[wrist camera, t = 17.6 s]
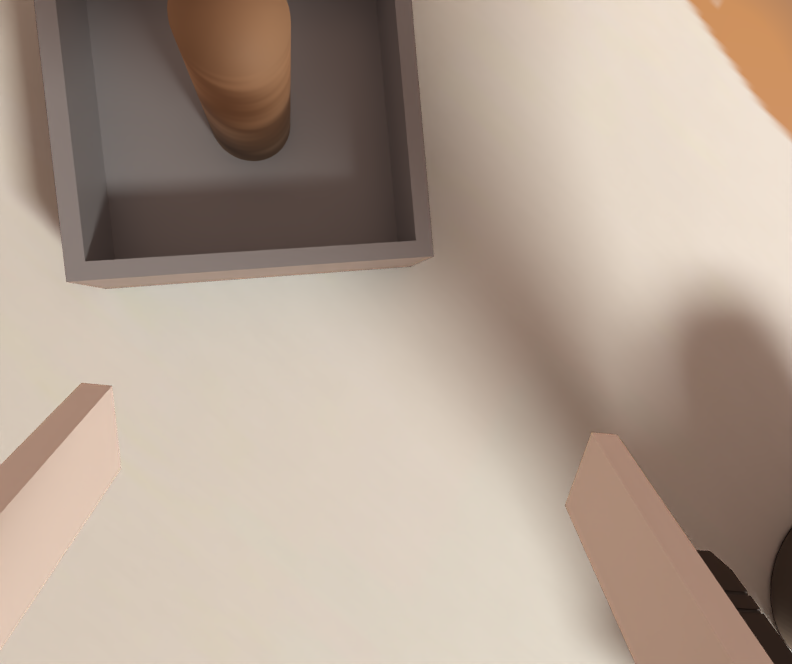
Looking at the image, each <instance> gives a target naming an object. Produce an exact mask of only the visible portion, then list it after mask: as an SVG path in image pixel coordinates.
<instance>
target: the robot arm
mask: <svg viewBox="0 0 792 664" xmlns="http://www.w3.org/2000/svg"><path fill="white" fill-rule="evenodd" d="M120 470H121V462H120V453H119V444H118V435H117V426H116V417H115V408H114V399H113V390H112V386H108V385H98V384H88V383H81V384H80V385H79V386H78V387H77V388H76V389H75V390H74V391H73V392H72V393H71V394H70V395H69V396H68V397H67V398H66V399H65V400H64V401H63V402H62V403H61V404H60V405H59V406H58V407H57V408H56V409H55V410H54V411H53V412H52V413H51V414H50V415H49V416H48V417H47V418H46V419H45V420H44V422H43V423H42V424H41V425H40V426H39V427H38V428H37V429H36V430H35V431H34V432H33V433H32V434H31V435H30V436H29V437H28V438H27V439H26V440H25V441H24V442H23V443H22V444H21V445H20V446H19V447H18V448H17V449H16V450H15V451H14V452H13V453H12V454H11V455H10V456H9V457H8V458H7V459H6V460H5V461H4V462H3V463H2V464H1V465H0V650H1V649H2V647H3V646H4V644H5V643H6V641H7V640H8V638H9V637H10V635H11V634H12V632H13V631H14V629H15V628H16V626H17V625H18V623H19V622H20V620H21V619H22V617H23V616H24V614H25V613H26V611H27V610H28V608H29V607H30V605H31V604H32V602H33V601H34V599H35V598H36V596H37V595H38V593H39V592H40V590H41V588H42V587H43V585H44V584H45V582H46V581H47V579H48V578H49V576H50V575H51V573H52V572H53V570H54V569H55V567H56V566H57V564H58V563H59V561H60V560H61V558H62V557H63V555H64V554H65V552H66V551H67V549H68V548H69V546H70V545H71V543H72V542H73V540H74V539H75V537H76V536H77V534H78V533H79V531H80V530H81V528H82V527H83V525H84V524H85V522H86V521H87V519H88V518H89V516H90V515H91V513H92V512H93V510H94V509H95V507H96V506H97V504H98V503H99V501H100V500H101V498H102V497H103V495H104V494H105V492H106V491H107V489H108V488H109V486H110V485H111V483H112V482H113V480H114V479H115V477H116V476H117V474H118V473H119V471H120ZM565 507H566V509H567V511H568V513H569V516H570V518H571V520H572V522H573V525H574V527H575V529H576V531H577V534H578V536H579V538H580V540H581V543H582V545H583V547H584V549H585V552H586V554H587V556H588V558H589V561H590V563H591V565H592V567H593V570H594V572H595V574H596V576H597V579H598V581H599V583H600V585H601V588H602V590H603V592H604V594H605V597H606V599H607V601H608V603H609V606H610V608H611V610H612V612H613V615H614V617H615V619H616V621H617V623H618V626H619V628H620V630H621V632H622V635H623V637H624V639H625V641H626V644H627V646H628V648H629V650H630V653H631V655H632V657H633V659H634V662H635V664H792V652H791V651H790V650H789V648H790V649H791V650H792V529H791V531H790V532H789V534H788V535H787V537H786V538H785V540H784V542H783V544H782V546H781V548H780V551H779V553H778V556H777V559H776V562H775V566H774V570H773V575H772V583H771V602H772V610H773V615H774V619H775V622H776V625H777V628H778V630H779V632H780V634H781V636H782V638H783V640H784V641H785V643H786V644H787V646H788V647H789V648H788V647H787V646H786V644H785V643H784V641H783V640H782V639H781V637H780V636H779V635H778V633H777V632H776V630H775V629H774V628H773V626H772V625H771V624H770V622H769V621H768V619H767V618H766V617H765V615H764V614H761V613H760V608H759V607H758V606H757V604H756V603H755V602H754V600H753V599H752V597H751V596H748V595H747V591H746V589H745V588H744V586H743V585H742V584H741V582H740V581H739V580H738V578H737V577H736V575H735V574H734V573H733V571H732V570H731V569H730V568H729V567H727V566H726V565H725V564H724V563H723V562H722V561H721V560H719V559H718V558H717V557H716V556H715V555H714V554H713V553H712V552H710V551H700V550H696V549H695V548H694V546H693V545H692V543H691V542H690V540H689V539H688V538H687V536H686V535H685V533H684V532H683V530H682V529H681V527H680V526H679V524H678V523H677V521H676V520H675V519H674V517H673V516H672V514H671V513H670V511H669V510H668V508H667V507H666V505H665V504H664V502H663V501H662V499H661V498H660V497H659V495H658V494H657V492H656V491H655V489H654V488H653V486H652V485H651V483H650V482H649V480H648V479H647V478H646V476H645V475H644V473H643V472H642V470H641V469H640V467H639V466H638V464H637V463H636V461H635V460H634V459H633V457H632V456H631V454H630V453H629V451H628V450H627V448H626V447H625V445H624V444H623V442H622V441H621V439H620V438H619V437H618V435H615V434H605V433H594V432H591V435H590V438H589V441H588V443H587V446H586V449H585V452H584V454H583V457H582V460H581V463H580V465H579V468H578V471H577V474H576V476H575V479H574V482H573V485H572V487H571V490H570V493H569V496H568V498H567V501H566V504H565Z"/></svg>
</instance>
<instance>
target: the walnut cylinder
mask: <svg viewBox="0 0 792 664" xmlns="http://www.w3.org/2000/svg"><path fill="white" fill-rule="evenodd" d="M167 13H168V20H169V25H170V28H171V30H172V33H173V36H174V38H175V41H176V43H177V45H178V48H179V50H180V53H181V55H182V58H183V60H184V63H185V65H186V68H187V70H188V73H189V75H190V78H191V80H192V83H193V85H194V87H195V90H196V92H197V95H198V97H199V100H200V102H201V105H202V107H203V110H204V112H205V115H206V117H207V120H208V122H209V124H210V127H211V129H212V132H213V134H214V136H215V138H216V140H217V142H218V143H219V144H220V146H221V147H222V148H223V149H224V150H225V151H227V152H228V153H229V154H231V155H233V156H234V157H237V158H239V159H242V160H247V161H260V160H265V159H268V158H270V157H272V156H274V155H275V154H276V153H278V152H279V151H280V150H281V149H282V148H283V146H284V145H285V143H286V141H287V139H288V136H289V132H290V87H291V17H290V11H289V6H288V3H287V0H168V2H167Z"/></svg>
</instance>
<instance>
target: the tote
mask: <svg viewBox="0 0 792 664" xmlns="http://www.w3.org/2000/svg"><path fill="white" fill-rule="evenodd" d="M167 2H168V0H34V5H35V14H36V23H37V32H38V40H39V49H40V58H41V66H42V75H43V84H44V92H45V101H46V110H47V118H48V127H49V136H50V144H51V153H52V162H53V171H54V179H55V188H56V197H57V205H58V214H59V223H60V231H61V240H62V249H63V257H64V266H65V275H66V282H70V283H76V284H81V285H87V286H93V287H98V288H104V289H110V288H124V287H138V286H151V285H165V284H179V283H192V282H206V281H220V280H233V279H247V278H261V277H274V276H288V275H302V274H315V273H329V272H343V271H356V270H370V269H384V268H397V267H411V266H413V265H415V264H418V263H420V262H422V261H424V260H426V259H429V258H431V257H433V256H434V254H433V243H432V231H431V220H430V208H429V197H428V185H427V174H426V162H425V151H424V139H423V128H422V116H421V105H420V93H419V81H418V70H417V58H416V47H415V35H414V24H413V12H412V1H411V0H287V3H288V6H289V11H290V17H291V87H290V132H289V136H288V139H287V141H286V143H285V145H284V146H283V148H282V149H281V150H280V151H279V152H278V153H276V154H275V155H274V156H272V157H270V158H268V159H265V160H260V161H247V160H242V159H239V158H237V157H234V156H233V155H231V154H229V153H228V152H227V151H225V150H224V149H223V148H222V147H221V146H220V144H219V143H218V142H217V140H216V138H215V136H214V134H213V132H212V129H211V127H210V124H209V122H208V120H207V117H206V115H205V112H204V110H203V107H202V105H201V102H200V100H199V97H198V95H197V92H196V90H195V87H194V85H193V83H192V80H191V78H190V75H189V73H188V70H187V68H186V65H185V63H184V60H183V58H182V55H181V53H180V50H179V48H178V45H177V43H176V41H175V38H174V36H173V33H172V30H171V28H170V25H169V20H168V13H167Z"/></svg>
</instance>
